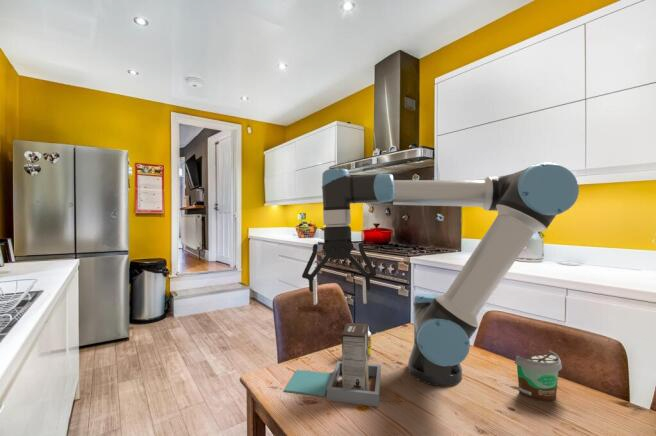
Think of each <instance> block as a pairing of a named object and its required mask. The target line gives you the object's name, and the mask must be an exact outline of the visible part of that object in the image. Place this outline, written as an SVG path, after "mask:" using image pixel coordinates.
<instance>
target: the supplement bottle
mask: <svg viewBox="0 0 656 436" xmlns="http://www.w3.org/2000/svg"><path fill="white" fill-rule="evenodd" d="M371 356H372V332H370V329H369V325H368V360H369V359H370V358H371Z"/></svg>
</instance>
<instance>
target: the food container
mask: <svg viewBox="0 0 656 436" xmlns="http://www.w3.org/2000/svg"><path fill="white" fill-rule="evenodd" d="M514 364H515V365H516V369H517V370H516V371H517V383H518V393H519V394H521V395H522V396H524V397H526V398H529V399H532V400H536V401H541V402H552V401H555V400H556V398H557V391H558V380H559V371H561V370H562V369H563V365H562V360H561V359H560V356H559V355H558V354H557V353H555V352H554V351H552V350H550V349H549V350H548V353H546V354H532V355H528V356H526V357H521V356H519V355H516V356H515V359H514Z"/></svg>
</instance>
